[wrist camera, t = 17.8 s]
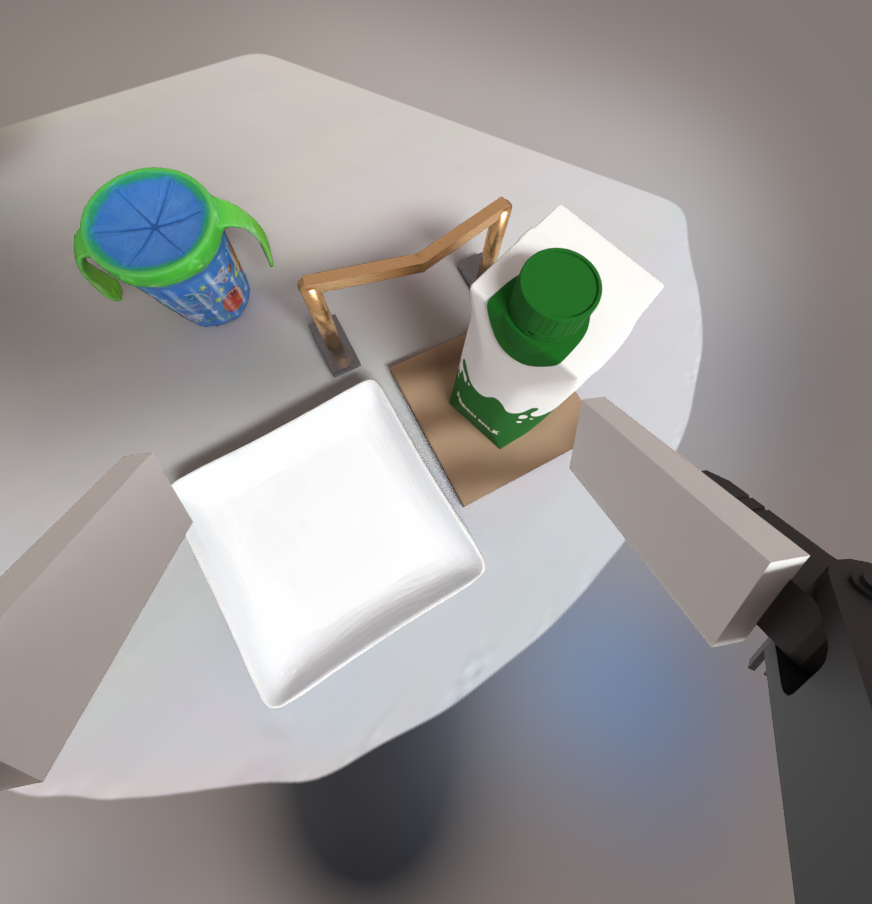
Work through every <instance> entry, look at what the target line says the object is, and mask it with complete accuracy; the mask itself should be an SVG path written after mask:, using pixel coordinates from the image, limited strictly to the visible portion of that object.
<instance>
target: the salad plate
mask: <svg viewBox="0 0 872 904" xmlns="http://www.w3.org/2000/svg"><path fill="white" fill-rule="evenodd" d="M171 486H172V487H173V489H174V491H175V492H176V494H177V496H178V497H179V499H180V501H181V502H182V504H183V506H184V507H185V509H186V511H187V512H188V514H189V516H190V517H191V519H192V521H193V523H192V525H191V526H190V528H189V530H188V531H187V533H186V535H185V537H186V539H187V541H188V543H189V545H190V547H191V549H192V551H193V553H194V555H195V557H196V559H197V561H198V563H199V565H200V567H201V569H202V571H203V573H204V575H205V577H206V579H207V582H208V584H209V586H210V588H211V590H212V592H213V594H214V596H215V598H216V600H217V602H218V605H219V607H220V609H221V611H222V613H223V615H224V618H225V620H226V622H227V624H228V627H229V629H230V631H231V633H232V635H233V638H234V640H235V642H236V645H237V647H238V649H239V652H240V654H241V656H242V658H243V660H244V663H245V665H246V667H247V670H248V672H249V674H250V676H251V679H252V681H253V683H254V685H255V687H256V689H257V691H258V693H259V695H260V697H261V699H262V700H263V702H264V703H265V705H266V706H267V707H269V708H272V709H276V708H280V707H282V706H285V705H286V704H288V703H290V702H291V701H293V700H295V699H296V698H298V697H300V696H301V695H303V694H304V693H306V692H307V691H309V690H310V689H311V688H313V687H314V686H316V685H317V684H319V683H320V682H322V681H323V680H324V679H326V678H327V677H329V676H330V675H332V674H333V673H335V672H336V671H337V670H339V669H340V668H342V667H343V666H345V665H346V664H348V663H349V662H350V661H352V660H353V659H355V658H356V657H358V656H359V655H361V654H362V653H364V652H365V651H367V650H368V649H370V648H371V647H373V646H374V645H376V644H377V643H379V642H380V641H382V640H383V639H384V638H386V637H388V636H389V635H391V634H392V633H394V632H395V631H397V630H398V629H400V628H401V627H403V626H405V625H406V624H408V623H409V622H411V621H413V620H414V619H416V618H417V617H419V616H421V615H422V614H424V613H425V612H427V611H429V610H430V609H432V608H434V607H435V606H437V605H438V604H440V603H442V602H443V601H445V600H447V599H448V598H450V597H451V596H453V595H455V594H456V593H458V592H460V591H461V590H463V589H464V588H466V587H467V586H469V585H470V584H472V583H473V582H474V581H475V580H477V579H478V578H479V577H480V576H481V575H482V573H483V572H484V570H485V561H484V558H483V556H482V554H481V552H480V550H479V549H478V547H477V545H476V544H475V542H474V540H473V539H472V537H471V535H470V534H469V532H468V531H467V529H466V528H465V526H464V525H463V523H462V522H461V520H460V519H459V517H458V515H457V514H456V512H455V511H454V509H453V508H452V506H451V505H450V503H449V502H448V500H447V499H446V497H445V495H444V494H443V492H442V491H441V489H440V488H439V486H438V485H437V483H436V481H435V480H434V478H433V476H432V475H431V473H430V471H429V470H428V468H427V467H426V465H425V463H424V462H423V460H422V458H421V457H420V455H419V453H418V451H417V449H416V448H415V446H414V444H413V442H412V441H411V439H410V437H409V435H408V434H407V432H406V430H405V428H404V426H403V425H402V423H401V421H400V419H399V417H398V415H397V414H396V412H395V410H394V409H393V407H392V405H391V403H390V401H389V400H388V398H387V396H386V394H385V393H384V391H383V390H382V388H381V387H380V385H379V384H378V383H377V382H376V381H375V380H372V379H369V380H365V381H363V382H361V383H359V384H357V385H355V386H353V387H351V388H349V389H347V390H345V391H343V392H342V393H340V394H338V395H336V396H335V397H333V398H331V399H329V400H327V401H326V402H324V403H322V404H320V405H318V406H317V407H315V408H313V409H311V410H310V411H308V412H306V413H304V414H302V415H300V416H299V417H297V418H295V419H293V420H292V421H290V422H288V423H286V424H284V425H282V426H280V427H278V428H277V429H275V430H273V431H271V432H269V433H267V434H265V435H264V436H262V437H260V438H258V439H256V440H254V441H252V442H250V443H248V444H246V445H245V446H243V447H241V448H238V449H236V450H234V451H232V452H230V453H228V454H226V455H224V456H222V457H220V458H218V459H216V460H214V461H212V462H210V463H208V464H206V465H204V466H202V467H200V468H198V469H196V470H194V471H192V472H190V473H188V474H187V475H185V476H183V477H181V478H180V479H178V480H176V481H175V482H173V483H172V484H171Z"/></svg>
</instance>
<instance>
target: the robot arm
mask: <svg viewBox="0 0 872 904" xmlns="http://www.w3.org/2000/svg"><path fill="white" fill-rule="evenodd" d="M570 469H571V471H572V472H573V473H574V475H575V476H576V477H577V478H578V480H579V481H580V482H581V483H582V485H583V486H584V487H585V488H586V490H587V491H588V492H589V493H590V495H591V496H592V497H593V498H594V500H595V501H596V502H597V504H598V505H599V506H600V507H601V509H602V510H603V511H604V512H605V514H606V515H607V516H608V517H609V519H610V520H611V521H612V522H613V524H614V525H615V526H616V527H617V529H618V530H619V531H620V533H621V534H622V535H623V536H624V538H625V539H626V540H627V541H628V543H629V544H630V545H631V546H632V548H633V549H634V550H635V551H636V553H637V554H638V555H639V556H640V558H641V559H642V560H643V561H644V563H645V564H646V565H647V566H648V568H649V569H650V570H651V572H652V573H653V574H654V575H655V576H656V578H657V579H658V580H659V582H660V583H661V584H662V585H663V587H664V588H665V589H666V590H667V592H668V593H669V594H670V595H671V597H672V598H673V599H674V601H675V602H676V603H677V604H678V606H679V607H680V608H681V609H682V611H683V612H684V613H685V614H686V616H687V617H688V618H689V619H690V621H691V622H692V623H693V625H694V626H695V627H696V628H697V630H698V631H699V632H700V633H701V634H702V636H703V637H704V638H705V640H706V641H707V642H708V643H709V645H710V646H711V647H716V646H721V645H726V644H731V643H736V642H741V641H744V640H745V639H746V638H747V636H748V635H749V634H750V632H751V631H752V630H753V629H754V627H755V626H756V625H758V626H759V627H760V628H761V629H762V630H763V631H764V632H765V633H766V635H767V636H768V639H767V640H766V641H765V642H764V643H763V644H762V646H761V647H760V648H759V649H758V650H757V652H756V653H755V654H754V655H753V656H752V658H751V659H750V661H749V666H748V668H749V669H751V670H754V671H755V669H756V668H757V667H758V666H759V665H760V664H761V663H762V662H763V661H764V659H765V664H766V671H765V672H764V675H766V676H767V680H768V688H769V696H770V704H771V712H772V720H773V728H774V736H775V744H776V752H777V760H778V768H779V776H780V784H781V792H782V801H783V809H784V817H785V825H786V833H787V840H788V849H789V857H790V865H791V872H792V880H793V888H794V897H795V904H872V564H871V563H869V562H864V561H858V560H853V559H842V560H837V559H835V558H834V557H832V556H831V555H829V554H828V553H826V552H825V551H824V550H822V549H821V548H820V547H818V546H817V545H816V544H814V543H813V542H811V541H810V540H809V539H808V538H806V537H805V536H804V535H802V534H801V533H799V532H798V531H797V530H795V529H794V528H793V527H791V526H790V525H789V524H787V523H786V522H784V521H783V520H782V519H780V518H779V517H778V516H776V515H775V514H774V513H772V512H771V511H770V510H765V507H764V506H763V505H761V504H760V503H759V502H757V501H756V500H755V499H753V498H749V495H748V494H746V493H745V492H744V491H742V490H741V489H740V488H738V487H737V486H736V485H734V484H733V483H732V482H730V481H728V480H726V479H724V478H722V477H720V476H717V475H715V474H713V473H711V472H709V471H707V470H705V471H700V470H699V469H697V468H696V467H695V466H693V465H692V464H691V463H689V462H688V461H687V460H686V459H684V458H683V457H682V456H680V455H679V454H678V453H677V452H675V451H674V450H673V449H671V448H670V447H669V446H667V445H666V444H665V443H664V442H662V441H661V440H660V439H658V438H657V437H656V436H654V435H653V434H652V433H651V432H649V431H648V430H647V429H645V428H644V427H643V426H641V425H640V424H639V423H638V422H636V421H635V420H634V419H632V418H631V417H630V416H629V415H627V414H626V413H625V412H623V411H622V410H621V409H619V408H618V407H617V406H616V405H614V404H613V403H612V402H610V401H609V400H608V399H606V398H605V397H600V398H592V399H584V400H582V403H581V409H580V414H579V419H578V425H577V430H576V435H575V441H574V446H573V452H572V457H571V462H570ZM192 523H193V521H192V519H191V517H190V516H189V514H188V512H187V511H186V509H185V507H184V506H183V504H182V502H181V501H180V499H179V497H178V496H177V494H176V492H175V491H174V489H173V487H172V486H171V484H170V482H169V481H168V479H167V477H166V475H165V474H164V472H163V470H162V469H161V467H160V465H159V464H158V462H157V460H156V459H155V457H154V455H153V454H152V453H147V454H139V455H131V456H124V457H123V458H122V459H120V460H119V461H118V462H117V463H116V464H115V465H114V466H113V467H112V468H111V469H110V470H109V471H108V472H107V473H106V474H105V475H104V476H103V477H102V478H101V479H100V480H99V481H98V482H97V483H96V484H95V485H94V486H93V487H92V488H91V489H90V490H89V491H88V492H87V493H86V494H85V495H84V496H83V497H82V498H81V499H80V500H79V501H78V502H77V503H75V504H74V505H73V506H72V507H71V508H70V509H69V510H68V511H67V512H66V513H65V514H64V515H63V516H62V517H61V518H60V519H59V520H58V521H57V522H56V523H55V524H54V525H53V526H52V527H51V528H50V529H49V530H48V531H47V532H46V533H45V534H44V535H43V536H42V537H41V538H40V539H39V540H38V541H37V542H36V543H35V544H34V545H33V546H31V547H30V548H29V549H28V550H27V551H26V552H25V553H24V554H23V555H22V556H21V557H20V558H19V559H18V560H17V561H16V562H15V563H14V564H13V565H12V566H11V567H10V568H9V569H8V570H7V571H6V572H5V573H4V574H3V575H2V576H1V577H0V790H5V789H10V788H15V787H20V786H25V785H30V784H35V783H40V782H43V781H44V779H45V778H46V776H47V774H48V772H49V771H50V769H51V767H52V765H53V764H54V762H55V760H56V758H57V757H58V755H59V753H60V752H61V750H62V748H63V746H64V745H65V743H66V741H67V739H68V738H69V736H70V734H71V732H72V731H73V729H74V727H75V726H76V724H77V722H78V720H79V719H80V717H81V715H82V713H83V712H84V710H85V708H86V706H87V705H88V703H89V701H90V700H91V698H92V696H93V694H94V693H95V691H96V689H97V687H98V686H99V684H100V682H101V680H102V679H103V677H104V675H105V674H106V672H107V670H108V668H109V667H110V665H111V663H112V661H113V660H114V658H115V656H116V654H117V653H118V651H119V649H120V648H121V646H122V644H123V642H124V641H125V639H126V637H127V635H128V634H129V632H130V630H131V629H132V627H133V625H134V623H135V622H136V620H137V618H138V616H139V615H140V613H141V611H142V609H143V608H144V606H145V604H146V603H147V601H148V599H149V597H150V596H151V594H152V592H153V590H154V589H155V587H156V585H157V583H158V582H159V580H160V578H161V577H162V575H163V573H164V571H165V570H166V568H167V566H168V564H169V563H170V561H171V559H172V557H173V556H174V554H175V552H176V551H177V549H178V547H179V545H180V544H181V542H182V540H183V538H184V537H185V535H186V533H187V531H188V530H189V528H190V526H191V525H192Z"/></svg>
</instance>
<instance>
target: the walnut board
mask: <svg viewBox="0 0 872 904" xmlns="http://www.w3.org/2000/svg"><path fill="white" fill-rule="evenodd" d="M466 335H467V333H464V334H462V335H460V336H458V337H456V338H453V339H451V340H449V341H447V342H445V343H442V344H440V345H438V346H436V347H434V348H431V349H429V350H427V351H425V352H423V353H420V354H418V355H416V356H414V357H412V358H409V359H407V360H405V361H403V362H401V363H398V364H396V365H394V366H392V367H390V370H391V373H392V375H393V377H394V379H395V380H396V382H397V384H398V386H399V388H400V390H401V392H402V394H403V395H404V397H405V399H406V401H407V403H408V405H409V407H410V408H411V410H412V412H413V414H414V416H415V418H416V420H417V422H418V423H419V425H420V427H421V429H422V431H423V433H424V435H425V436H426V438H427V440H428V442H429V444H430V446H431V448H432V450H433V451H434V453H435V455H436V457H437V459H438V461H439V463H440V465H441V466H442V468H443V470H444V472H445V474H446V476H447V478H448V479H449V481H450V483H451V485H452V487H453V489H454V491H455V493H456V494H457V496H458V498H459V500H460V502H461V504H462V506H463V507H465V506H467V505H468V504H470V503H472V502H474V501H476V500H478V499H480V498H481V497H483V496H485V495H487V494H489V493H491V492H493V491H495V490H496V489H498V488H500V487H502V486H504V485H506V484H508V483H509V482H511V481H513V480H515V479H517V478H519V477H521V476H522V475H524V474H526V473H528V472H530V471H532V470H534V469H536V468H537V467H539V466H541V465H543V464H545V463H547V462H549V461H550V460H552V459H554V458H556V457H558V456H560V455H562V454H564V453H565V452H567V451H569V450H571V449H573V446H574V441H575V435H576V430H577V425H578V419H579V414H580V409H581V403H582V401H581V399H580V398H579V396H578V395H577V393H576V392H575V391H574V392H573V393H572V394H571V395H570V396H569V397H568V398H567V399H566V400H564V401H563V402H562V403H561V404H560V405H559V406H558V407H557V408H556V409H554V410H553V411H552V412H551V413H550V414H549V415H548V416H547V417H545V418H544V419H543V420H542V421H541V422H540V423H539V424H537V425H536V426H535V427H534V428H532V429H531V430H530V431H529V432H527V433H526V434H524V435H523V436H521V437H519V438H518V439H516V440H514V441H513V442H511V443H510V444H508V445H506V446H505V447H503V448H501V449H499V448H498V447H497V446H496V445H495V444H493V443H492V442H491V441H490V440H489V439H488V438H487V437H486V436H485V435H484V434H482V433H481V432H480V431H479V430H478V429H477V428H476V427H475V426H474V425H473V424H471V423H470V422H469V421H468V420H467V419H466V418H465V417H464V416H463V415H462V414H460V413H459V412H458V411H457V410H456V409H455V408H454V407H453V406H452V405H451V404H449V402H450V398H451V394H452V391H453V387H454V383H455V379H456V375H457V371H458V367H459V363H460V359H461V355H462V351H463V347H464V343H465V339H466Z"/></svg>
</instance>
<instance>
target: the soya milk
mask: <svg viewBox="0 0 872 904" xmlns="http://www.w3.org/2000/svg"><path fill="white" fill-rule="evenodd" d="M663 287H664V285H663V284H662V283H661V282H659V281H658V280H657V279H656V278H654V277H653V276H652V275H651V274H649V273H648V272H647V271H645V270H644V269H643V268H642V267H640V266H639V265H638V264H637V263H635V262H634V261H633V260H631V259H630V258H629V257H628V256H626V255H625V254H624V253H623V252H621V251H620V250H619V249H617V248H616V247H615V246H614V245H612V244H611V243H610V242H608V241H607V240H606V239H605V238H603V237H602V236H601V235H600V234H598V233H597V232H596V231H594V230H593V229H592V228H591V227H589V226H588V225H587V224H586V223H584V222H583V221H582V220H580V219H579V218H578V217H577V216H575V215H574V214H573V213H572V212H570V211H569V210H568V209H566V208H565V207H564V206H563V205H561V204H560V205H559V206H558V207H557V208H555V209H554V210H553V211H552V212H551V213H550V214H549V215H548V216H547V217H546V218H545V219H543V220H542V221H541V222H540V223H539V224H538V225H537V226H536V227H535V228H530V229H529V230H528V231H527V232H526V233H525V234H523V235H522V236H521V237H520V239H519V240H518V241H517V242H516V243H515V244H514V245H513V246H512V247H511V248H510V249H509V250H508V251H507V252H506V253H504V254H503V255H502V256H501V257H500V258H499V259H498V260H497V261H496V262H495V263H494V264H493V265H492V266H491V267H490V268H489V269H488V270H486V271H485V272H484V273H483V274H482V275H481V276H480V277H479V278H478V279H477V280H476V281H475V282H474V283H473V284H472V285H471V288H470V295H471V308H472V315H471V319H470V323H469V327H468V331H467V335H466V339H465V343H464V347H463V351H462V355H461V359H460V363H459V367H458V371H457V375H456V379H455V383H454V387H453V391H452V394H451V398H450V402H449V404H451V405H452V406H453V407H454V408H455V409H456V410H457V411H458V412H459V413H460V414H462V415H463V416H464V417H465V418H466V419H467V420H468V421H469V422H470V423H471V424H473V425H474V426H475V427H476V428H477V429H478V430H479V431H480V432H481V433H482V434H484V435H485V436H486V437H487V438H488V439H489V440H490V441H491V442H492V443H493V444H495V445H496V446H497V447H498V448H499V449H501V448H503V447H505V446H506V445H508V444H510V443H511V442H513V441H514V440H516V439H518V438H519V437H521V436H523V435H524V434H526V433H527V432H529V431H530V430H531V429H532V428H534V427H535V426H536V425H537V424H539V423H540V422H541V421H542V420H543V419H544V418H545V417H547V416H548V415H549V414H550V413H551V412H552V411H553V410H554V409H556V408H557V407H558V406H559V405H560V404H561V403H562V402H563V401H564V400H566V399H567V398H568V397H569V396H570V395H571V394H572V393H573V392H574V391H576V390H577V389H578V388H579V387H580V386H581V385H582V384H583V383H584V382H585V381H586V380H587V379H588V378H589V377H590V376H591V375H592V374H593V373H594V372H596V371H597V370H599V369H600V368H601V367H602V366H603V365H604V364H605V363H606V362H607V361H608V360H609V359H610V358H611V357H612V355H613V354H614V353H615V352H616V351H617V350H618V349H619V347H620V346H621V345H622V344H623V342H624V341H625V339H626V338H627V337H628V335H629V333H630V332H631V330H632V329H633V327H634V325H635V323H636V321H637V319H638V318H639V317H640V316H641V314H642V313H643V312H644V311H645V309H646V308H647V307H648V306H649V305H650V303H651V302H652V301H653V300H654V298H655V297H656V296H657V295H658V293H659V292H660V291H661V290H662V288H663Z"/></svg>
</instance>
